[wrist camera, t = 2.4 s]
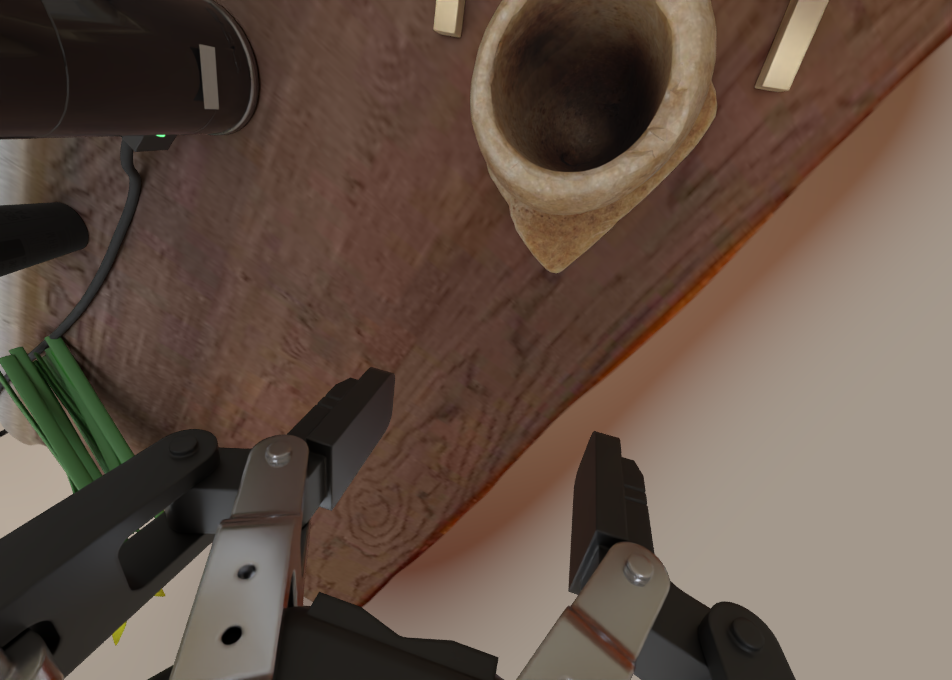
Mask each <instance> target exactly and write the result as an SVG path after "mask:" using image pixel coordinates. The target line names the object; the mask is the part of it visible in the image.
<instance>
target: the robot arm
mask: <svg viewBox="0 0 952 680" xmlns="http://www.w3.org/2000/svg"><path fill="white" fill-rule="evenodd" d="M258 91H259V80H258V71H257V65H256V61H255V58H254V54H253V51H252V49H251V46H250V44H249V42H248V40H247V38H246V36H245V34H244V32H243V31H242V29H241V28H240V26H239V25H238V23H237V22H236V21H235V19H234V18H233V17H232V16H231V15H230V14H229V13H228V12H227V11H226V10H225V9H224V8H223V7H221V6H220V5H219V4H217V3H216V2H214V1H212V0H0V139H31V138H65V137H105V136H121V137H122V143H121V151H120V159H121V165H122V168H123V169H124V171H125V172H126V173H127V175H128V176H129V179H130V183H129V192H128V197H127V201H126V204H125V207H124V210H123V213H122V215H121V218H120V220H119V223H118V225H117V228H116V230H115V232H114V235H113V237H112V240H111V242H110V245H109V247H108V250H107V252H106V254H105V257H104V259H103V261H102V263H101V266H100V268H99V270H98V272H97V273H96V275H95V277H94V279H93V281H92V282H91V284H90V286H89V287H88V289H87V291H86V292H85V294H84V295H83V297H82V298H81V300H80V301H79V303H78V304H77V305H76V307H75V308H74V309H73V311H72V312H71V313H70V314H69V315H68V316H67V318H66V319H65V320H64V321H63V322H62V323H61V324H60V325H59V327H58V328H57V329H56V330H55V331H54V332H53V333H51V334H50V335H49V337H50V339H58V338H59V337H60V336H62V335H63V334H64V333H65V332H66V331H67V330H68V329H69V327H70V326H71V325H72V324H73V323H74V322H75V321H76V320H77V319H78V317H79V316H80V315H81V314H82V313H83V311H84V310H85V309H86V308H87V306H88V305H89V303H90V302H91V301H92V299H93V298H94V296H95V294H96V293H97V291H98V290H99V288H100V286H101V285H102V283H103V281H104V280H105V278H106V276H107V274H108V272H109V270H110V268H111V266H112V264H113V262H114V259H115V257H116V255H117V253H118V250H119V248H120V245H121V243H122V241H123V238H124V236H125V234H126V231H127V229H128V227H129V224H130V222H131V220H132V217H133V214H134V212H135V209H136V206H137V202H138V198H139V194H140V188H141V177H140V175H139V173H138V172H137V170H136V169H135V168H134V165H133V150H134V151H135V152H140V151H156V150H168V149H169V147H170V145H171V144H172V142H173V141H174V139H175V137H176V136H177V135H193V134H208V135H227V134H231V133H234V132H236V131H238V130H240V129H241V128H242V127H244V126H245V125H246V124H247V122H248V121H249V120H250V118H251V116H252V115H253V112H254V110H255V107H256V104H257V99H258ZM48 347H49V345H48V344H47V342H46V340H44V341H43V342H41V343H40V344H39V345H38V346H37V347H36V348H35V349H34V350H32V351H31V352H30V353H29V354H28V356H29V358H30V359H31V361H33V360H34V359H35V358H36V357H35V355H34V354H33V353H34V352H37V353H39V354H41V353H42V352H43V351H44V350H45V349H47V348H48ZM4 377H5V379H6V380H7V382H9V381H10V378H9V377H8V375H7V374H6V375H5V376H4ZM394 385H395V375H394V373H390V372H387V371H383V370H380V369H376V368H373V367H370V368H369V369H368V370H367V371H366V372H365V373H364V374H363V375H362V376H361V378H360V379H359V380H356V379H353V378H349V379H347V380H345V381H343V382H340V383H338V384H336V385H335V386H334V387H333V388H332V389H331V390H330V391H329V392H328V393H327V394H326V396H325V397H323V398H322V399H321V400H320V401H319V402H318V404H317V405H315V406H314V407H313V408H312V409H311V410H310V411H309V412H308V413H307V414H306V415H305V416H304V417H303V418H302V419H301V421H300V422H299V423H298V424H297V425H296V426H295V427H294V428H293V429H292V430H291V431H290V432H289V433H288V434H287V435H276V436H272V437H268V438H266V439H264V440H262V441H260V442H259V443H257V444H256V445H255V446H254V447H253V448H252V449H240V448H218V443H217V439H216V437H215V436H214V435H213V434H212V433H210V432H208V431H205V430H200V429H189V430H183V431H179V432H176V433H173V434H170V435H168V436H166V437H164V438H162V439H161V440H159V441H158V442H156V443H154V444H153V445H151V446H150V447H148V448H146V449H145V450H143V451H141V452H140V453H138V454H137V455H135V456H133V457H132V458H130V459H129V460H127V461H125V462H124V463H122V464H120V465H119V466H117V467H116V468H114V469H112V470H111V471H109V472H108V473H106V474H104V475H103V476H101V477H99V478H98V479H96V480H95V481H93V482H91V483H90V484H88V485H87V486H85V487H83V488H82V489H80V490H78V491H77V492H75V493H74V494H72V495H70V496H69V497H68V498H66V499H64V500H62V501H61V502H59V503H57V504H56V505H54V506H53V507H51V508H50V509H48V510H46V511H45V512H43V513H41V514H40V515H38V516H37V517H35V518H33V519H32V520H30V521H28V522H27V523H25V524H24V525H22V526H20V527H19V528H17V529H16V530H14V531H13V532H11V533H9V534H7V535H6V536H4V537H3V538H1V539H0V680H64V678H65V677H66V676H68V674H70V673H71V672H72V671H73V670H74V669H75V668H76V667H77V666H78V665H79V664H81V663H82V662H83V661H84V660H85V659H86V658H87V657H88V656H89V655H90V654H91V653H92V652H93V651H95V650H96V648H98V647H99V646H100V645H101V644H102V643H103V642H104V641H105V640H106V639H108V638H109V637H110V636H111V635H112V634H113V633H114V632H115V631H116V630H117V629H118V628H120V627H121V626H122V625H123V624H124V623H125V622H126V621H127V620H128V619H129V618H130V617H131V616H132V615H134V614H135V613H136V612H137V611H138V610H139V609H140V608H141V607H142V606H143V605H144V604H145V603H147V602H148V601H149V600H150V599H151V598H152V597H153V596H154V595H155V594H156V593H157V592H159V591H160V590H161V589H162V588H163V587H164V586H165V585H166V584H167V583H168V582H169V581H170V580H171V579H173V578H174V577H175V576H176V575H177V574H178V573H179V572H180V571H181V570H182V569H183V568H184V567H185V566H186V565H188V564H189V563H190V562H191V561H192V560H193V559H194V558H195V557H196V556H197V555H199V554H200V553H201V552H202V551H203V550H204V549H205V548H206V547H207V546H208V545H209V544H211V543H212V542H213V543H212V547H211V550H210V553H209V556H208V559H207V562H206V565H205V569H204V572H203V575H202V578H201V581H200V584H199V587H198V590H197V594H196V597H195V600H194V603H193V606H192V609H191V612H190V615H189V619H188V622H187V625H186V628H185V631H184V634H183V637H182V641H181V644H180V647H179V650H178V653H177V656H176V659H175V662H174V665H172V666H171V667H169V668H167V669H165V670H164V671H162V672H160V673H158V674H157V675H155V676H153V677H151V678H150V679H148V680H504V679H502V678H501V677H499V676H498V675H497V674H496V669H497V663H498V657H495V656H493V655H490V654H487V653H485V652H482V651H480V650H477V649H474V648H471V647H468V646H466V645H463V644H460V643H458V642H455V641H451V640H435V639H421V638H406V637H402V636H399V635H398V634H396V633H395V632H394V631H392V630H391V629H390V628H388V627H387V626H385V625H384V624H383V623H382V622H380V621H379V620H378V619H376V618H375V617H374V616H372V615H371V614H370V613H368V612H367V611H366V610H364V609H363V608H362V607H359V606H357V605H354V604H351V603H348V602H346V601H343V600H340V599H337V598H335V597H332V596H329V595H326V594H324V593H321V592H319V593H318V595H317V597H316V598H315V600H314V602H313V603H312V605H311V606H303V595H304V582H305V573H306V564H307V556H308V547H309V538H310V529H311V517H312V516H313V514H314V513H315V511H316V510H317V509H318V507H322V508H325V509H328V510H331V511H332V510H333V508H334V507H335V505H336V504H337V502H338V501H339V499H340V498H341V496H342V495H343V493H344V492H345V490H346V489H347V487H348V486H349V484H350V483H351V481H352V480H353V478H354V477H355V476H356V474H357V473H358V471H359V470H360V468H361V467H362V465H363V464H364V462H365V461H366V459H367V458H368V456H369V455H370V453H371V452H372V450H373V449H374V447H375V446H376V444H377V443H378V441H379V440H380V439H381V437H382V436H383V434H384V433H385V431H386V429H387V427H388V425H389V422H390V419H391V415H392V407H393V396H394ZM3 388H4V386H3V385H2V383H1V382H0V391H1V390H2V389H3ZM7 433H8V432H7V431H6V430H5V429H4V430H2V431H0V437H2V436H4V435H6V434H7ZM163 510H165V511H164V512H163V513H162V514H160V515H159V516H158V517H157V518H155V519H154V520H153V521H151V522H150V523H149V524H148V525H146V526H145V527H144V528H142V529H141V530H140V531H138V532H137V533H136V534H135V535H133V536H132V537H131V538H129V539H128V540H127V541H125V540H126V539H127V538H128V537H129V536H130V535H131V534H133V533H134V532H135V531H136V530H138V529H139V528H140V527H142V526H143V525H144V524H145V523H147V522H148V521H149V520H150V519H152V518H153V517H155V516H156V515H157V514H159V513H160V512H161V511H163ZM569 592H572V593H574V594H577V595H578V596H577V598H576V599H575V601H574V602H573V603H572V605H571V606H568V607H567V608H566V609H565V610H564V612H563V613H562V614H561V616H560V617H559V619H558V620H557V622H556V623H555V624H554V626H553V627H552V629H551V630H550V632H549V633H548V634H547V636H546V637H545V639H544V640H543V642H542V643H541V645H540V646H539V647H538V649H537V650H536V652H535V653H534V655H533V656H532V658H531V659H530V660H529V662H528V664H527V665H526V666H525V668H524V669H523V671H522V672H521V673H520V675H519V676H518V678H517V679H516V680H631V678H632V676H633V674H634V675H636V676H637V677H639V678H640V679H641V680H796V679H795V677H794V675H793V673H792V671H791V669H790V666H789V664H788V662H787V660H786V658H785V656H784V653H783V651H782V649H781V647H780V645H779V643H778V641H777V639H776V637H775V636H774V634H773V633H772V631H771V630H770V629H769V628H768V626H767V625H766V624H765V623H764V622H763V621H762V620H761V619H760V618H759V617H758V616H756V615H755V614H754V613H752V612H751V611H749V610H748V609H746V608H744V607H742V606H740V605H738V604H735V603H732V602H719V603H716V604H715V605H714V606H713V607H712V608H711V609H710V608H709V607H707V606H706V605H704V604H702V603H701V602H699V601H698V600H696V599H694V598H693V597H691V596H689V595H688V594H686V593H685V592H683V591H682V590H680V589H679V588H678V587H676V586H675V585H674V584H673V583H672V582H671V581H670V579H669V575H668V572H667V570H666V568H665V567H664V565H663V563H662V562H661V561H660V560H659V558H658V557H656V556H655V554H654V548H653V541H652V534H651V527H650V520H649V513H648V506H647V499H646V494H645V485H644V477H643V474H642V473H641V471H640V470H639V468H638V466H637V465H636V463H635V461H634V460H630V459H626V458H623V457H621V444H620V439H619V438H617V437H613V436H609V435H606V434H603V433H599V432H596V431H594V432H593V433H592V435H591V437H590V440H589V442H588V445H587V448H586V450H585V453H584V455H583V458H582V460H581V463H580V466H579V468H578V471H577V475H576V480H575V485H574V498H573V516H572V534H571V554H570V571H569Z"/></svg>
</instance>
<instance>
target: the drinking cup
mask: <svg viewBox="0 0 952 680" xmlns="http://www.w3.org/2000/svg"><path fill="white" fill-rule="evenodd" d="M87 243H88V232H87V228H86V226H85V224H84V222H83V220H82V219H81V218H80V216H79V215H78V214H77V213H76V212H75V211H74V210H73V209H72V208H71V207H69V206H67V205H65V204H63V203H59V202H54V203H37V204H19V205H2V206H0V277H1V276H4V275H7V274H10V273H13V272H15V271H18V270H21V269H24V268H27V267H30V266H33V265H36V264H39V263H42V262H45V261H48V260H51V259H54V258H57V257H59V256H62V255H65V254H68V253H71V252H74V251H77V250H80V249H83V248H84V247H85V246H86V245H87Z"/></svg>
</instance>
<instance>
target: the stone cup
mask: <svg viewBox="0 0 952 680" xmlns="http://www.w3.org/2000/svg"><path fill="white" fill-rule="evenodd" d="M715 59H716V24H715V18H714V14H713V9H712V5H711V0H503V1H502V2H501V3H500V5H499V6H498V8H497V10H496V11H495V13H494V15H493V17H492V19H491V21H490V23H489V24H488V26H487V28H486V30H485V33H484V36H483V38H482V41H481V44H480V46H479V49H478V53H477V58H476V62H475V67H474V71H473V76H472V81H471V95H470V106H471V121H472V124H473V128H474V132H475V135H476V138H477V141H478V144H479V147H480V150H481V152H482V154H483V156H484V159H485V161H486V163H487V168H488V172H489V174H490V177H491V179H492V180H493V182H494V183H495V184H496V186H497V188H498V189H499V191H500V193H501V194H502V196H503V197H504V198H505V200H506V201H507V203H508V204H509V208H510V215H511V218H512V220H513V222H514V224H515V229H516V231H517V232H518V234H519V235H520V237H521V238H522V240H523V241H524V243H525V244H526V246H527V247H528V248H529V250H530V251H531V253H532V254H533V255H534V257H535V258H536V259H537V260H538V261H539V262H540V263H541V264H542V265H543V266H544V268H545V269H547V270H548V271H549V272H553V273H559V272H561V271H563V270H564V269H565V268H566V267H568V266H569V265H570V264H571V263H572V262H573V261H575V260H576V259H577V258H578V257H579V256H580V255H582V254H583V253H584V252H586V251H587V250H588V249H589V248H590V247H592V246H593V245H594V244H595V243H596V242H597V241H598V240H599V239H600V238H601V237H602V236H603V235H604V234H606V233H607V232H608V231H609V230H610V229H611V228H612V227H614V225H615V224H616V223H617V221H618V220H620V219H621V218H622V217H624V216H625V215H626V214H627V213H628V212H630V211H631V210H632V209H633V208H634V207H635V206H636V205H637V204H638V203H640V202H641V201H642V200H643V199H644V198H645V197H646V196H647V195H648V194H649V193H650V192H651V191H652V190H653V189H655V188H656V187H657V186H658V185H659V184H660V183H661V182H662V181H663V180H664V179H665V178H666V177H667V176H668V175H669V174H670V173H671V172H672V171H673V170H674V169H675V168H676V166H677V165H678V164H679V163H680V162H681V161H682V160H683V159H684V158H685V157H686V156H687V155H688V154H689V153H690V152H691V151H692V150H693V148H694V147H695V146H696V145H697V144H698V143H699V141H700V140H701V138H702V137H703V135H704V134H705V133H706V131H707V129H708V128H709V126H710V124H711V123H712V121H713V120H714V118H715V115H716V110H717V102H716V91H715V89H714V86H713V83H712V81H711V79H712V75H713V71H714V66H715Z"/></svg>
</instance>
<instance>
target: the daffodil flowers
mask: <svg viewBox="0 0 952 680" xmlns="http://www.w3.org/2000/svg"><path fill="white" fill-rule="evenodd" d="M44 339H45V340H46V342H47V344H48V345H49V348H47V349H45V350H44V351H45V352H46V355H45V356H43V357H41V356H40V354H39V353H37V352H34V353H33V354H34V355H35V357H36V358H37V360H38V361H37V360H35V361H34V362H32V361H31V359H30V358H29V356H28V355H27V353H26V351H25V350H24V348H23V347H18V348H14V349H11V350H9V352H10V354H11V355H9V356H5V357H2V358H0V364H1V365H2V367H3V369H4V370H5V372H6V373H7V375H8V377H9V378H10V380H11V381H12V383H13V385H14V386H15V388H16V390H17V391H18V393H19V394H20V396H21V398H22V399H23V401H24V402H25V404H26V406H27V407H28V409H29V411H30V412H31V414H32V415H33V417H34V418H33V417H32V416H31V414H30V413H29V412H28V410H27V409H26V408H25V406H24V405H23V404H22V402H21V401H20V400H19V398H18V397H17V395H16V394H15V392H14V391H13V389H12V388H11V386H10V385H9V383H8V382H7V380H6V379H5V377H4V376H3V374H2V373H1V371H0V382H1V383H2V385H3V386H4V387H5V389H6V390H7V392H8V393H9V395H10V396H11V398H12V399H13V401H14V402H15V404H16V405H17V406H18V408H19V409H20V410H21V412H22V413H23V414H24V416H25V417H26V418H27V420H28V421H29V423H30V424H31V425H32V427H33V428H34V429H35V431H36V432H37V433H38V435H39V436H40V437H41V439H42V440H43V442H44V443H45V444H46V446H47V447H48V448H49V450H50V451H51V453H52V454H53V455H54V457H55V458H56V459H57V461H58V462H59V464H60V465H61V466H62V468H63V469H64V471H65V472H66V474H67V476H68V479H69V482H70V485H71V487H72V491H73V494H74V493H75V492H77V491H78V490H80V489H82V488H83V487H85V486H87V485H88V484H90V483H91V482H93V481H95V480H96V479H98V478H99V477H101V476H102V474H101V472H100V471H99V469H98V468H97V466H96V464H95V463H94V461H93V459H92V458H91V456H90V455H89V453H88V451H87V450H86V448H85V446H84V444H83V443H82V441H81V439H80V437H79V436H78V434H77V432H76V430H75V428H74V427H73V425H72V423H71V421H70V420H69V418H68V416H67V415H66V413H65V411H64V410H63V408H62V406H61V405H60V403H59V401H58V399H57V398H56V396H57V397H58V398H59V400H60V401H61V402H62V404H63V405H64V406H65V408H66V409H67V411H68V412H69V414H70V415H71V417H72V419H73V421H74V422H75V424H76V426H77V427H78V429H79V431H80V433H81V434H82V436H83V438H84V439H85V441H86V443H87V444H88V446H89V448H90V450H91V451H92V453H93V455H94V456H95V458H96V460H97V461H98V463H99V465H100V466H101V468H102V470H103V471H104V473H105V474H106V473H108V472H109V471H111V470H112V469H114V468H116V467H117V466H119V465H120V464H122V463H124V462H125V461H127V460H129V459H130V458H132V457H133V456H135V455H134V454H133V452H132V451H131V449H130V447H129V446H128V444H127V443H126V441H125V439H124V438H123V436H122V435H121V433H120V431H119V430H118V428H117V426H116V425H115V423H114V422H113V420H112V418H111V417H110V415H109V414H108V412H107V410H106V409H105V407H104V405H103V404H102V402H101V401H100V399H99V397H98V396H97V394H96V392H95V391H94V389H93V388H92V386H91V384H90V383H89V381H88V380H87V378H86V376H85V375H84V373H83V371H82V370H81V368H80V367H79V365H78V363H77V362H76V360H75V359H74V357H73V355H72V354H71V352H70V351H69V349H68V347H67V346H66V344H65V343H64V341H63V339H62V338H61V336H60V337H59V338H58V339H50V337H49V336H48V337H46V338H44ZM45 379H46V380H45ZM47 382H48V383H47ZM49 385H50V386H49ZM50 387H51V388H52V389H51V388H50ZM52 390H53V391H54V393H55V394H56V396H55V394H54V393H53V391H52ZM34 419H35V420H36V421H35V420H34ZM36 422H37V423H38V424H37V423H36ZM163 512H164V510H163V511H161V512H160V513H159V514H157V515H156V516H155V517H154V518H157V517H158V516H159V515H160V514H162V513H163ZM138 531H140V530H139V529H138V530H136V531H135V532H138ZM133 534H134V533H133ZM127 540H128V538H127V539H126V540H125V541H127ZM154 596H162V597H163V596H165V594H164V592H163V590H162V589H161V590H160V591H159V592H157V593H156V594H155V595H154ZM126 622H127V621H126ZM126 622H125V623H124V624H123V625H122V626H121V627H120V628H118V629H117V630H116V631H115V632H114V633H113V634H112V637H113V640H114V643H115V645H117V643H118V642H119V640H120V637H121V635H122V633H123V631H124V629H125V626H126Z"/></svg>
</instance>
